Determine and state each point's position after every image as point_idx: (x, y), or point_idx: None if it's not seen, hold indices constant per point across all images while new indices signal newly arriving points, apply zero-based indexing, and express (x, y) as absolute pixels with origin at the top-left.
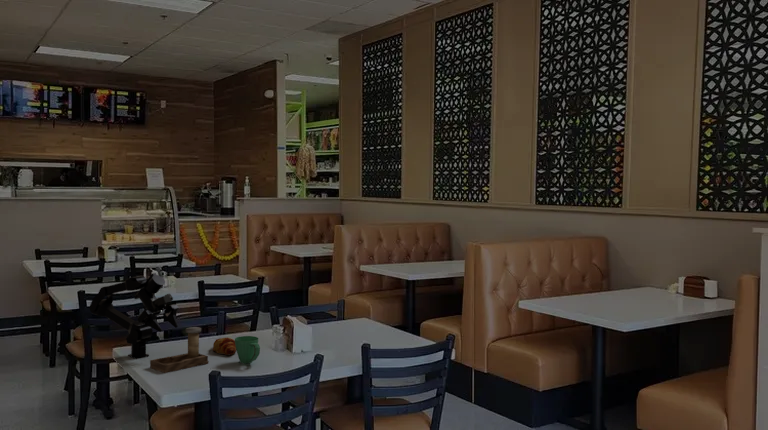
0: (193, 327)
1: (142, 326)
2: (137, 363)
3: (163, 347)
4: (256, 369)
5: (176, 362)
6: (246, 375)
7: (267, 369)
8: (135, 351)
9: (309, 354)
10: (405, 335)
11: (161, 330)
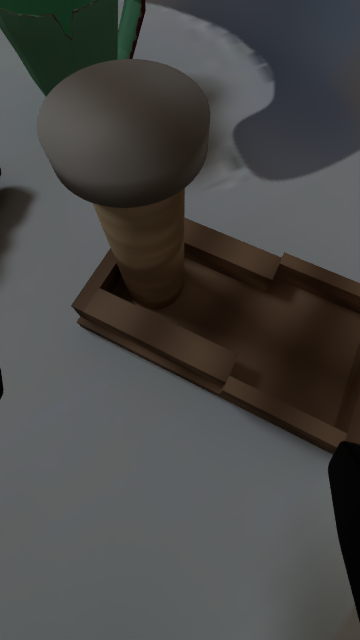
0: (55, 141)
1: None
2: (288, 617)
3: None
4: (173, 60)
5: (321, 278)
6: (253, 61)
7: (162, 38)
8: None
9: None
10: None
11: (355, 443)
